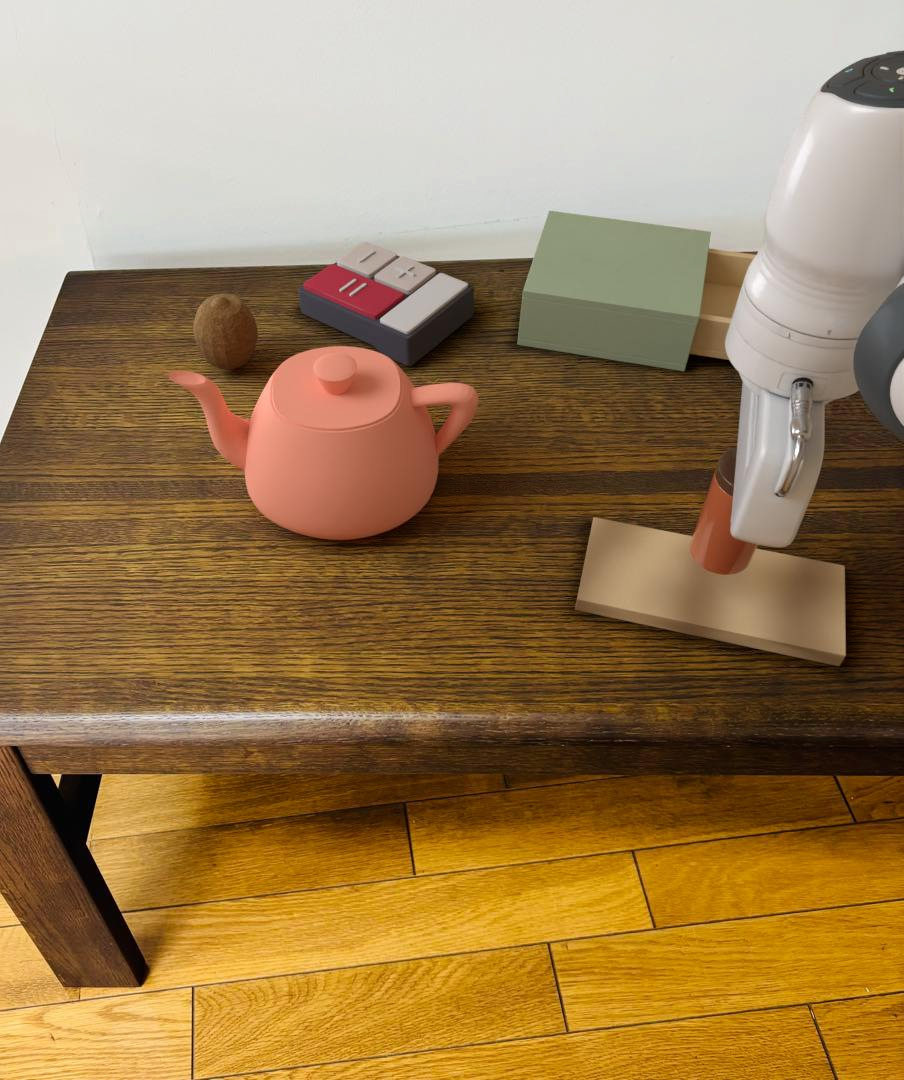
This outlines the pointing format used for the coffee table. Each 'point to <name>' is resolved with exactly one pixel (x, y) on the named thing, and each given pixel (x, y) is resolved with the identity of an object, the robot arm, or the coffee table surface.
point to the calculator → (388, 302)
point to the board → (715, 593)
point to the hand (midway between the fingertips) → (745, 489)
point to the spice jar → (720, 525)
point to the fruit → (225, 331)
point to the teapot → (337, 441)
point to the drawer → (719, 301)
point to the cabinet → (615, 290)
